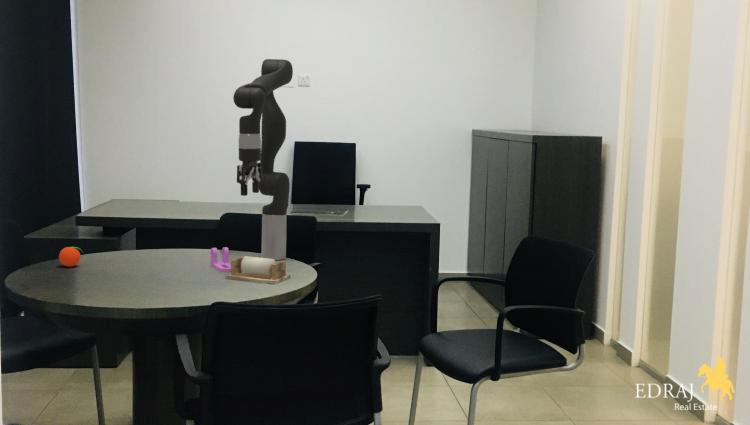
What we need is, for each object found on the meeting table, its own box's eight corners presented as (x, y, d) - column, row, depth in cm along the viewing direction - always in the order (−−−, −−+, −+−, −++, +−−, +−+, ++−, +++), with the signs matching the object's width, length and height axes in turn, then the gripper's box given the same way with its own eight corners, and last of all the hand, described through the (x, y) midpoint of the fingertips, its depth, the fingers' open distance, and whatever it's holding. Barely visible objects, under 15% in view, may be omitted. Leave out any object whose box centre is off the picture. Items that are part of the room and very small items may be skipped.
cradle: (243, 272, 265) (243, 255, 264) (290, 277, 259) (290, 260, 258) (225, 278, 254) (225, 260, 253) (274, 284, 248) (274, 266, 247)
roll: (239, 275, 255) (239, 257, 254) (247, 272, 261) (248, 254, 260) (269, 278, 252) (269, 260, 251) (277, 275, 257) (277, 257, 256)
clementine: (84, 264, 269) (84, 244, 268) (83, 268, 262) (83, 247, 261) (59, 264, 266) (59, 244, 265) (58, 268, 260) (58, 248, 259)
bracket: (210, 266, 275) (210, 247, 274) (225, 265, 277) (226, 246, 276) (220, 273, 263) (221, 253, 262) (236, 272, 266) (236, 252, 265)
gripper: (249, 145, 268) (249, 191, 270) (229, 147, 254) (230, 195, 257) (269, 146, 266) (268, 192, 268) (250, 148, 252) (250, 197, 254)
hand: (249, 194), depth 262 cm, fingers open, 8 cm apart
